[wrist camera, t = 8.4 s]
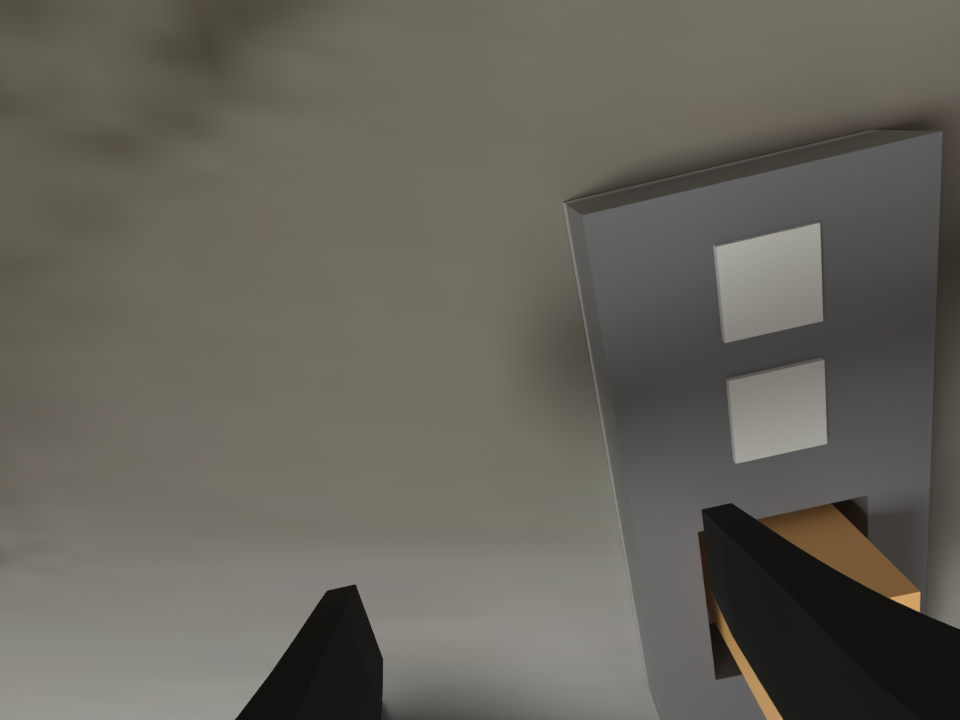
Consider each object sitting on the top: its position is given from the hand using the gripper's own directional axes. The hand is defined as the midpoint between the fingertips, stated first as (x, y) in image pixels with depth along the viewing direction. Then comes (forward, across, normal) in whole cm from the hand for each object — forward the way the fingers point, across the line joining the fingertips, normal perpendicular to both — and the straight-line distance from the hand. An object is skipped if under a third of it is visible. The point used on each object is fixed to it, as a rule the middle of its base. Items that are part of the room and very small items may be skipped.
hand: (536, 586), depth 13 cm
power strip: (+9, -8, +4) cm, 13 cm away
